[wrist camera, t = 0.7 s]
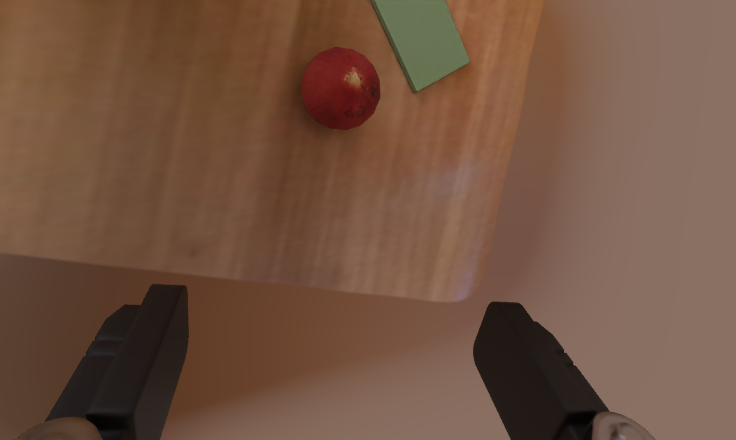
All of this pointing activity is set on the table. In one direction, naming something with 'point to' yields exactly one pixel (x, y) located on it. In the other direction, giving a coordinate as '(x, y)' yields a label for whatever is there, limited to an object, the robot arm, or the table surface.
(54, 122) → the table surface
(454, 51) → the spatula
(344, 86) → the onion
